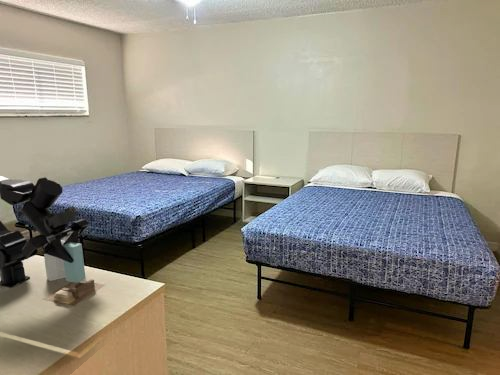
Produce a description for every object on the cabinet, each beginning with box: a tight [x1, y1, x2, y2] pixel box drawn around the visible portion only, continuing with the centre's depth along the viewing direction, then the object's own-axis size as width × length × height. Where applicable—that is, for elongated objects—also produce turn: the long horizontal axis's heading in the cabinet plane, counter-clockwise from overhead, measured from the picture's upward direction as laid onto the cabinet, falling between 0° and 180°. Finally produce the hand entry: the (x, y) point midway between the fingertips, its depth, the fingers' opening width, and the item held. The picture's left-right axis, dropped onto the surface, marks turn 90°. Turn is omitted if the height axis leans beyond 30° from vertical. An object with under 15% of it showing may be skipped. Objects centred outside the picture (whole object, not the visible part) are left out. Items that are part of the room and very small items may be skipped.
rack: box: [42, 278, 105, 307], centre depth 100 cm, size 11×12×4 cm
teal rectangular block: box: [63, 242, 86, 283], centre depth 97 cm, size 4×3×10 cm
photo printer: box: [43, 239, 66, 282], centre depth 109 cm, size 10×4×12 cm, turn 123°
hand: (77, 259), depth 97 cm, fingers closed on teal rectangular block, 3 cm apart
